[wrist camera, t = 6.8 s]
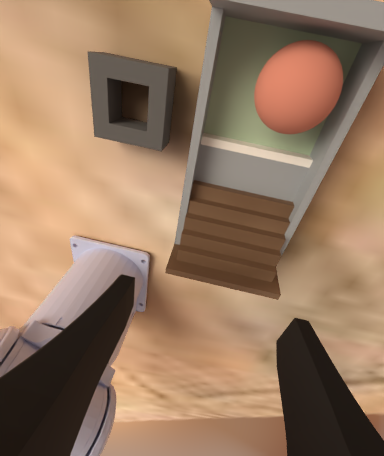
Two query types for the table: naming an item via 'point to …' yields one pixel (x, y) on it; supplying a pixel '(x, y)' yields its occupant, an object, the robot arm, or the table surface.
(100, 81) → the square tube segment
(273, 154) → the slate lane
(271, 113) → the brick-red rubber ball
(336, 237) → the table surface
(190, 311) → the table surface
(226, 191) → the walnut step ramp
